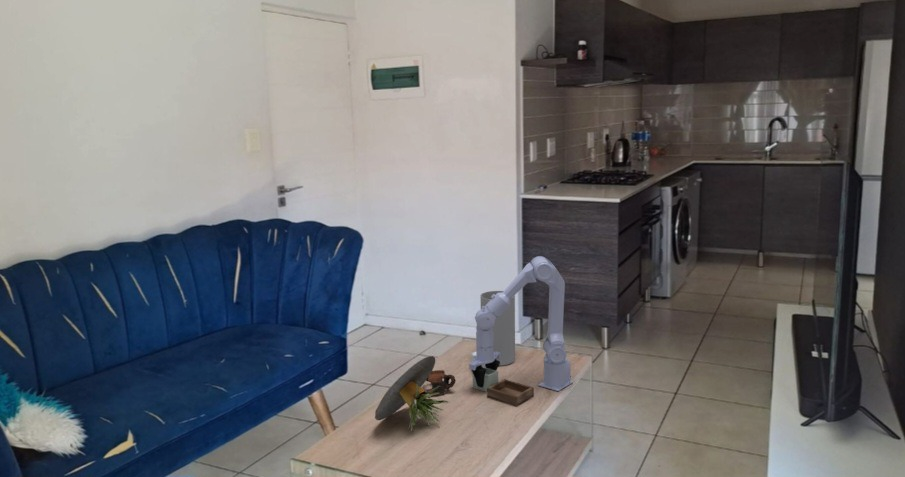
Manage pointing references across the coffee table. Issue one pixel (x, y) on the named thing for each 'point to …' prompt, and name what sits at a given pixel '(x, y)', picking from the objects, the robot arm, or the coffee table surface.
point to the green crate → (487, 379)
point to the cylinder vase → (503, 330)
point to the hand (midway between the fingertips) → (485, 383)
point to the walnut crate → (510, 392)
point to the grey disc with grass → (411, 394)
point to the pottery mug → (440, 382)
